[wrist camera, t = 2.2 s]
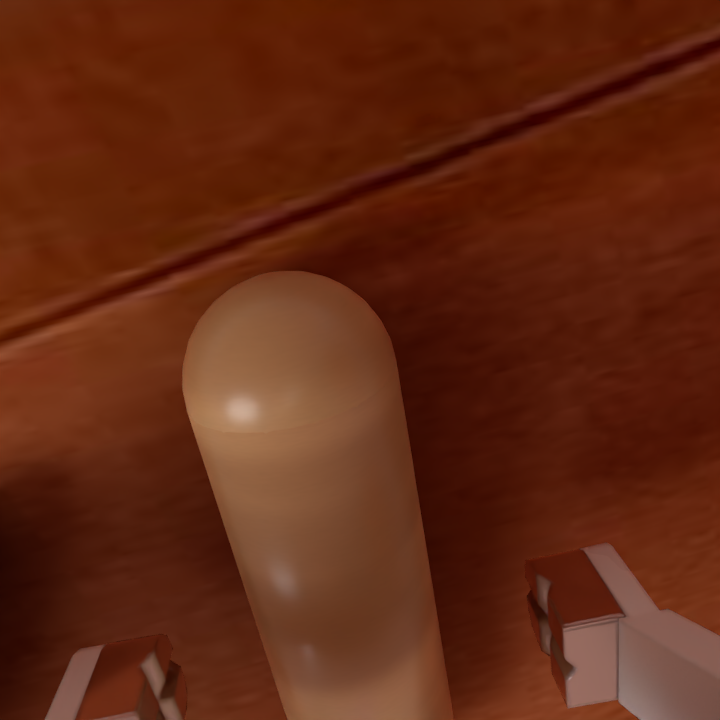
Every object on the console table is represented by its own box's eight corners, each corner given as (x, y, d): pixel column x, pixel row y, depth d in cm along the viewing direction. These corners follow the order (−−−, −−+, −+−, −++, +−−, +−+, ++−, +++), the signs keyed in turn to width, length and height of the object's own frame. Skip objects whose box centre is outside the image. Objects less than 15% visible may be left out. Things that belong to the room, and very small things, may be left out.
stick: (178, 269, 10) (123, 335, 7) (367, 233, 10) (395, 283, 7) (325, 764, 15) (331, 926, 12) (451, 738, 15) (488, 893, 12)
